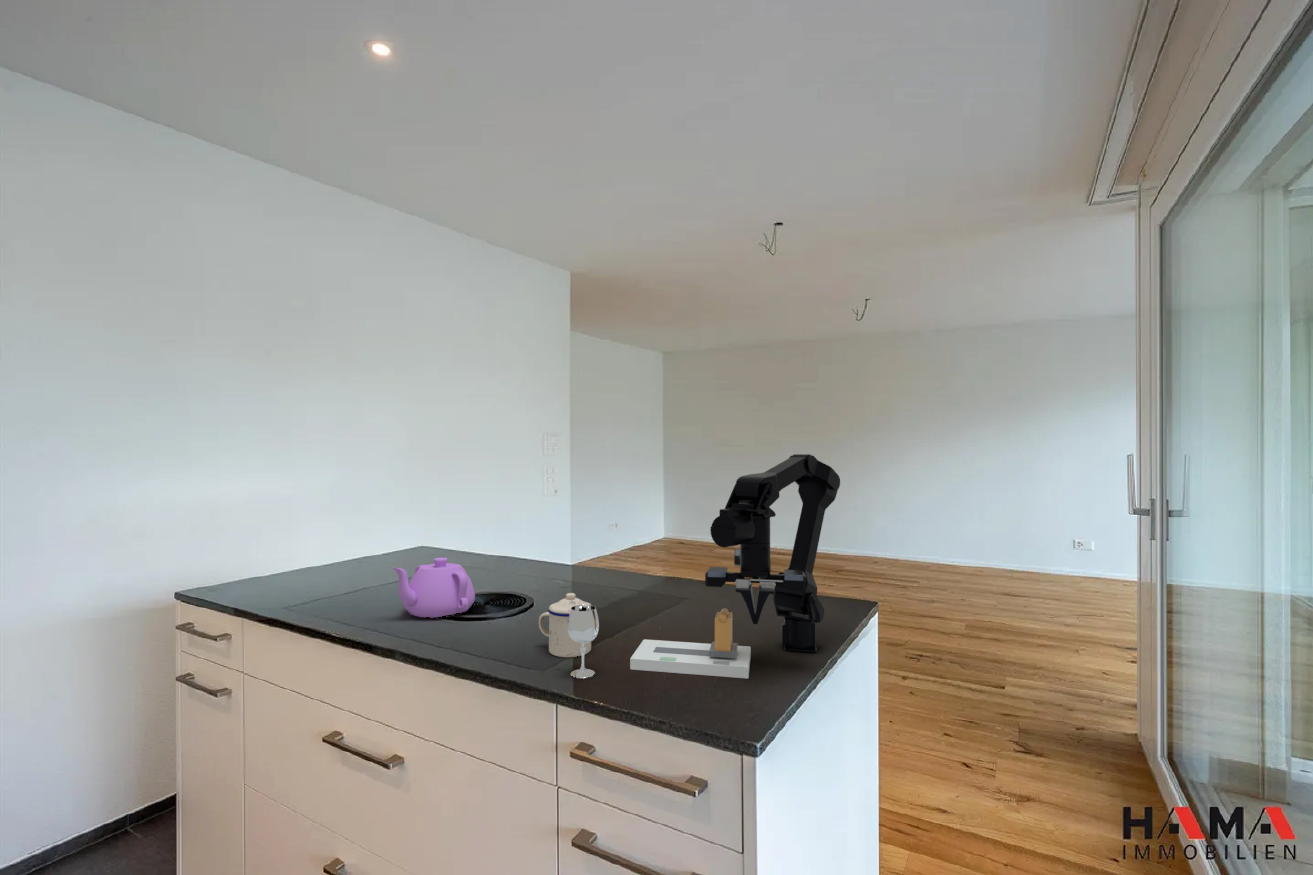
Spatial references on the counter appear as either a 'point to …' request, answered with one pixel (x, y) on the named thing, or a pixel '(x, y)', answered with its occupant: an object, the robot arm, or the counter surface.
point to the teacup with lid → (562, 628)
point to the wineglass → (583, 632)
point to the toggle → (723, 636)
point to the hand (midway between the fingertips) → (755, 623)
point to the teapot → (436, 589)
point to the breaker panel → (689, 659)
